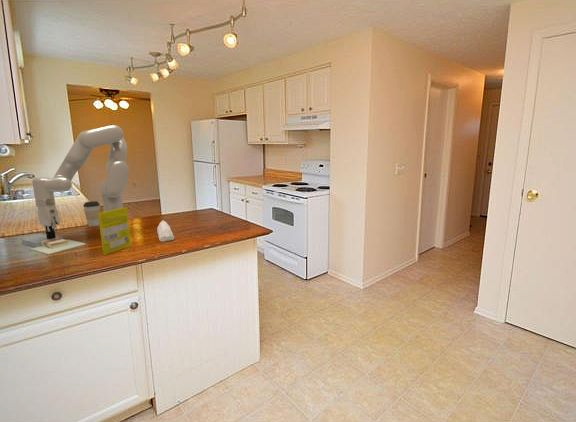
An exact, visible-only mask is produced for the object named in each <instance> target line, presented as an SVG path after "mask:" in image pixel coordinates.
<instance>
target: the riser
mask: <svg viewBox="0 0 576 422" xmlns="http://www.w3.org/2000/svg"><path fill="white" fill-rule="evenodd" d="M55 236H56V238H61V239H64V238H63V236H60V235H56V234H55ZM44 240H48V239H47V236H46V233H44V234H40V235H35V236H30V237H26V238H22V239H21V244H22V245H25V246H29V247H32V248H35V247H39V246H42V245H41V241H44Z"/></svg>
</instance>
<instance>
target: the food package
mask: <svg viewBox="0 0 576 422" xmlns="http://www.w3.org/2000/svg"><path fill="white" fill-rule="evenodd" d="M98 218H99V225H98V227H99V230H100V231H99V233H100V241H101V247H102V249H101V250H102V255H103V256H107V255H109V254H111V253H114V252H117V251H120V250H124V249H126V248H129V247H131V246H132V243H131V232H130V225H129V213H128V206H123V208H119V209H115V210H110V211H105V212H104V211H100V213H98Z"/></svg>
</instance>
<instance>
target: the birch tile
mask: <svg viewBox="0 0 576 422" xmlns="http://www.w3.org/2000/svg"><path fill="white" fill-rule="evenodd" d="M41 245H42V246H44V247H47V248H51V249H54V248H58V247H62V246H66V245H68V239H64V238H63V239H61V238H53V239H48V240H44V241H41Z"/></svg>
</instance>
